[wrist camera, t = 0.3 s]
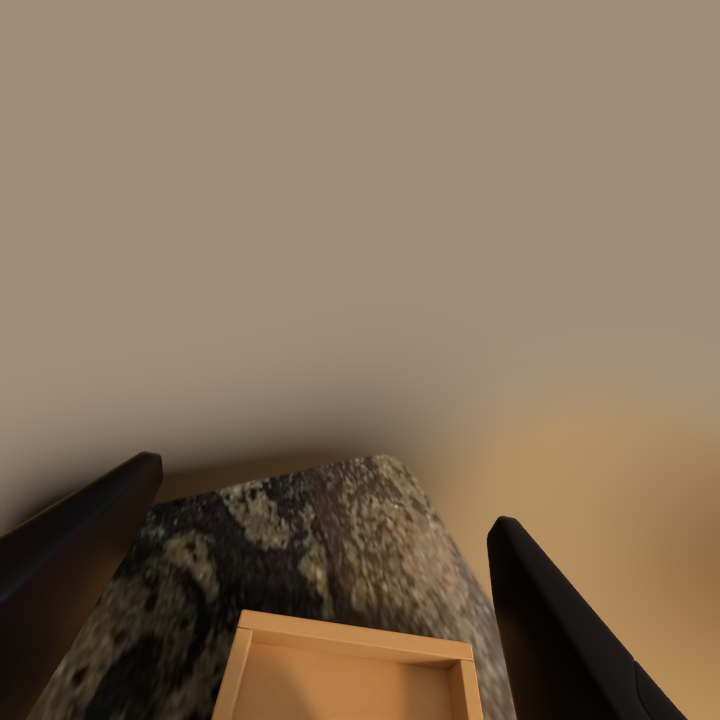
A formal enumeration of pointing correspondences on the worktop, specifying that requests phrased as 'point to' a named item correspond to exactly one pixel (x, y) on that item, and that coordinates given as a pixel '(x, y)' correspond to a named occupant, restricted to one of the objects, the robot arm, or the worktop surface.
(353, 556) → the worktop surface
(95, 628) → the worktop surface
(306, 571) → the worktop surface
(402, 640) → the tray
